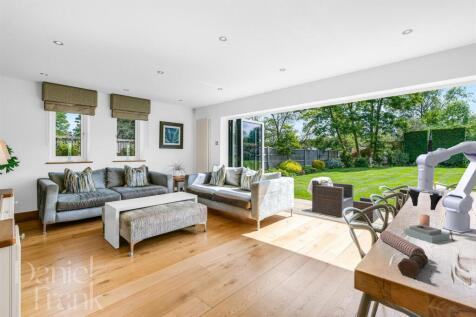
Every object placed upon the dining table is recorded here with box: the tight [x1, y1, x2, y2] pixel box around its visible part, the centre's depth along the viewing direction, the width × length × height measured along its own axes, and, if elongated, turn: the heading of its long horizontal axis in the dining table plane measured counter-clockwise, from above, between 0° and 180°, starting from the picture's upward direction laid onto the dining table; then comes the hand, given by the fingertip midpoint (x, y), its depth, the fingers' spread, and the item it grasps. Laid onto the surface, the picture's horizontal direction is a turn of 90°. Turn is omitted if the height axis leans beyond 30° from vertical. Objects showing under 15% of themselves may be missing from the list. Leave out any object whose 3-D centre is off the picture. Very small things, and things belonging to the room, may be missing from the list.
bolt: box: [397, 252, 429, 280], centre depth 75 cm, size 6×5×15 cm
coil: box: [379, 230, 426, 257], centre depth 89 cm, size 5×5×18 cm
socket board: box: [404, 223, 451, 244], centre depth 103 cm, size 12×11×4 cm
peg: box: [419, 213, 431, 227], centre depth 111 cm, size 4×4×7 cm
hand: (423, 207), depth 111 cm, fingers open, 7 cm apart
